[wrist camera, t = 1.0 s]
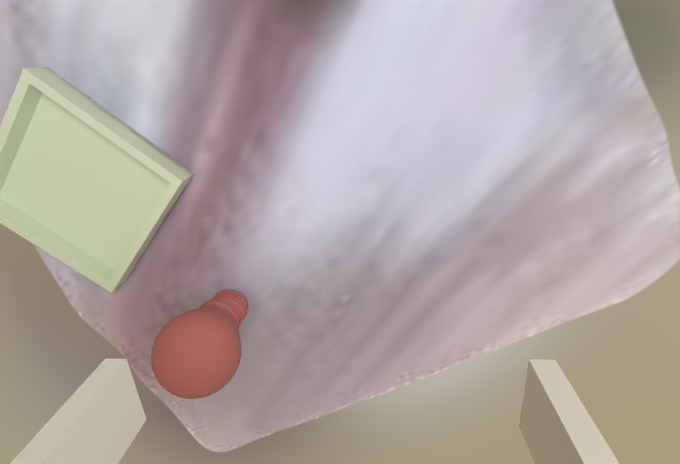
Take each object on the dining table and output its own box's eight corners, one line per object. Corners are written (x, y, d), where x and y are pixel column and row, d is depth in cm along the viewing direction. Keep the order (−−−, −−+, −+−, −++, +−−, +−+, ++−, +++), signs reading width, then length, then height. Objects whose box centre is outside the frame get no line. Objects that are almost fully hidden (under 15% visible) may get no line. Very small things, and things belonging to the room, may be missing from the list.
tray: (-7, 195, 39) (-31, 203, 37) (47, 67, 34) (23, 68, 32) (126, 280, 42) (111, 293, 39) (194, 173, 37) (182, 181, 34)
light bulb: (188, 272, 41) (120, 349, 30) (255, 265, 40) (211, 343, 29) (207, 329, 43) (150, 420, 32) (270, 325, 43) (234, 416, 32)
